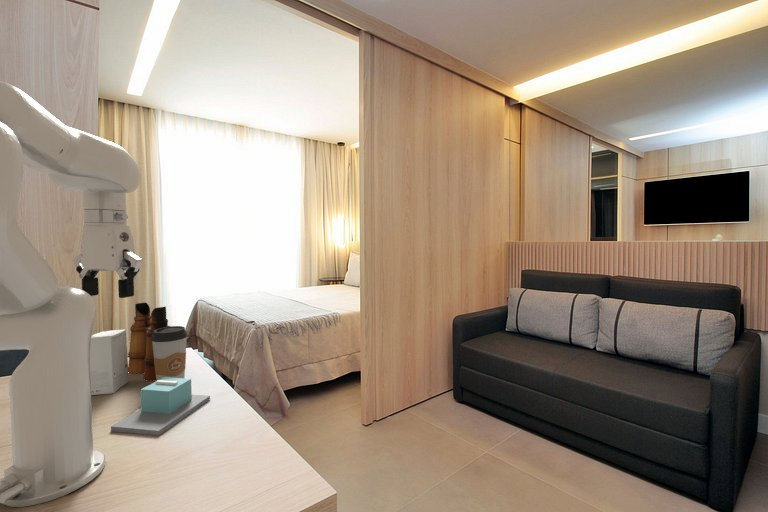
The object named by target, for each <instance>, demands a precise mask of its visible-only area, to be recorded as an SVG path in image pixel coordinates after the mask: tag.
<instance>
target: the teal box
mask: <svg viewBox="0 0 768 512" xmlns="http://www.w3.org/2000/svg"><path fill="white" fill-rule="evenodd" d="M192 395H193V394H192V379H191V378H170V377H164V378H162V379H160V380H158V381H153V383H150V384H149V385H147V386H144V387H143V388H141V389H140V405H141V406H140V409H141V411H143V412H154V413H166V414H170V413H172V412H173V411H175V410H176V409H178V408H179V407H181V406H182V405H184V404H186V403H187V402H189V401H190V400H192Z"/></svg>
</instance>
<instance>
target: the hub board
mask: <svg viewBox="0 0 768 512" xmlns="http://www.w3.org/2000/svg"><path fill="white" fill-rule="evenodd" d="M209 399H210V400H211V396H210V395H203V394H192V400H190V401H189V402H187V403H186V404H184V405H182V406H181V407H179V408H178V409H176V410H175V411H173V412H172V413H170V414H166V413H154V412H143V411H141V408H140V409H138V410H137V411H135V412H133V413H132V414H130V415H128V416H126V417H124V418H123V419H122V420H119V421H118V422H116V423H114V424H112V425H111V426H110V431H111V432H117V433H127V434H136V435H137V434H138V435H147V436H157V437H159V436H160V435H162V434H164V433H165V432H166V431H168V430H170V428H172V427H173V426H175V425H176V424H178V423H179V422H181V421H182V420H183V419H185V418H187V417H188V416H189V415H191V414H192V413H193V412H195V411H197V410H198V409H199V408H200V407H202V406H204V405H205V404H207V403H208V402H209V401H210V400H209ZM208 400H209V401H208ZM207 401H208V402H207ZM204 403H205V404H204ZM201 405H202V406H201Z"/></svg>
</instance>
